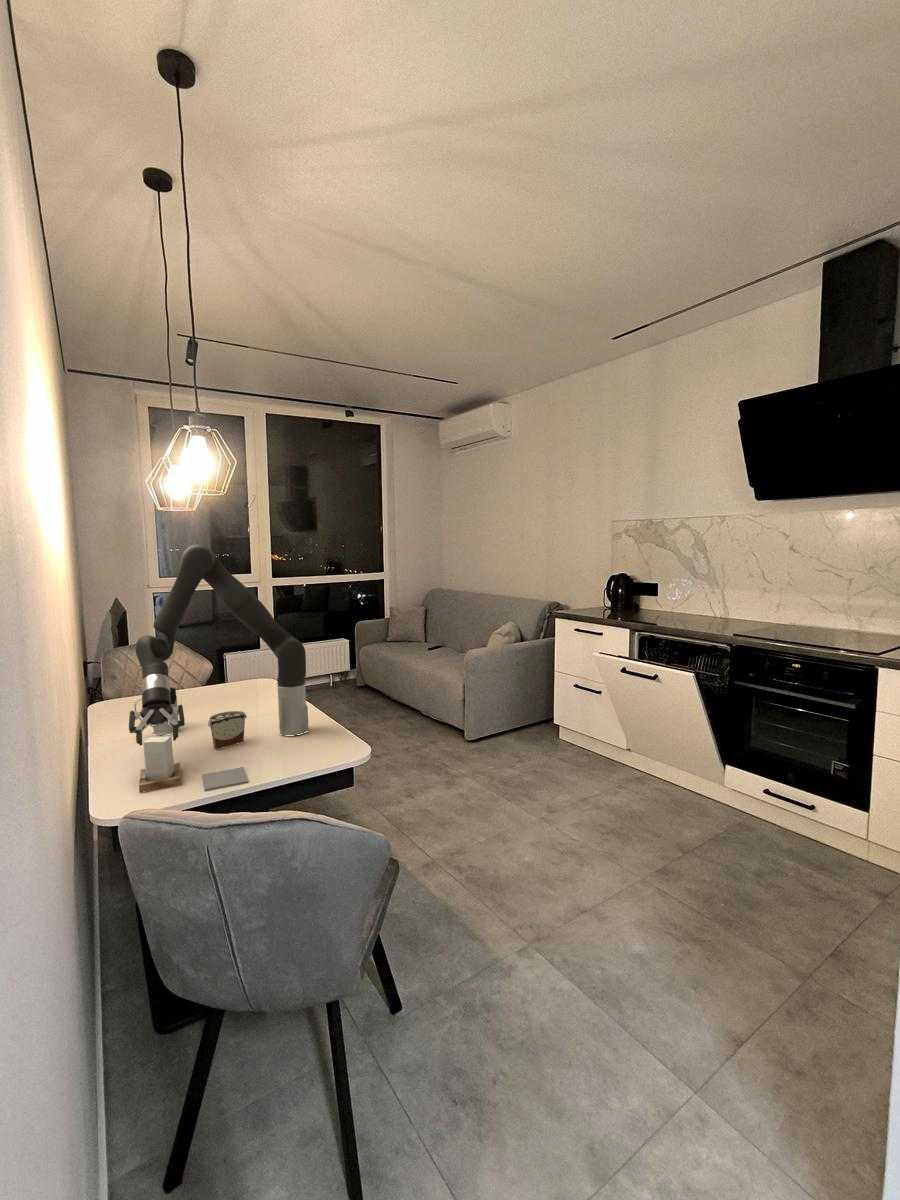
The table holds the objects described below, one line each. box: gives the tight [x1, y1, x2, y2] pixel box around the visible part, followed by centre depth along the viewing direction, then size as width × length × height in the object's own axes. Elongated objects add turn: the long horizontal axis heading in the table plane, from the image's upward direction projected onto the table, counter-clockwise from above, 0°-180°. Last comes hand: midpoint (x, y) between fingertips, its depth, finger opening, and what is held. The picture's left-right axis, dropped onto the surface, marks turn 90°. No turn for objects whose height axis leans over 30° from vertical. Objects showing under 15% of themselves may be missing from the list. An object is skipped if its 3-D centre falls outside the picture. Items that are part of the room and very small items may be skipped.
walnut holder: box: [138, 762, 182, 793], centre depth 154 cm, size 10×12×2 cm
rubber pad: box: [201, 766, 249, 792], centre depth 155 cm, size 11×11×1 cm
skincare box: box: [142, 736, 175, 782], centre depth 154 cm, size 6×4×12 cm
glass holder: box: [134, 687, 181, 736], centre depth 192 cm, size 9×14×15 cm, turn 141°
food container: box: [207, 710, 248, 751], centre depth 182 cm, size 12×6×10 cm, turn 134°
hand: (157, 741), depth 157 cm, fingers open, 8 cm apart
